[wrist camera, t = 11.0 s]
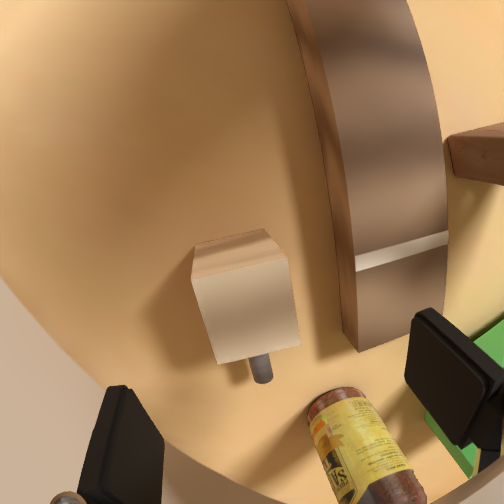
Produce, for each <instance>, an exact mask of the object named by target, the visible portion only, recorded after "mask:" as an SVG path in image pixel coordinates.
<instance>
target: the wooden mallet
mask: <svg viewBox="0 0 504 504" xmlns="http://www.w3.org/2000/svg"><path fill="white" fill-rule="evenodd" d="M448 143H449V148H450V153H451V158H452V163H453V169H454V174H455V176H456V177H459V178H465V179H471V180H477V181H482V182H487V183H493V184H498V185H502V186H504V123H500V124H495V125H491V126H487V127H482V128H478V129H474V130H470V131H466V132H462V133H458V134H454V135H450V136H449V137H448Z"/></svg>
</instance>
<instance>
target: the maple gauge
mask: <svg viewBox="0 0 504 504" xmlns="http://www.w3.org/2000/svg"><path fill="white" fill-rule="evenodd" d="M191 282H192V286H193V289H194V292H195V296H196V299H197V302H198V306H199V309H200V312H201V315H202V318H203V322H204V325H205V328H206V331H207V334H208V337H209V340H210V343H211V346H212V349H213V352H214V355H215V358H216V361H217V364H218V365H219V364H224V363H229V362H233V361H237V360H242V359H246V358H248V359H249V363H250V366H251V370H252V374H253V377H254V381H255V382H256V383H259V384H265V383H268V382H270V381H271V380H272V379H273V372H272V368H271V363H270V359H269V354H268V353H270V352H274V351H278V350H282V349H286V348H289V347H293V346H297V345H300V344H301V342H300V336H299V329H298V322H297V316H296V309H295V303H294V296H293V290H292V284H291V278H290V271H289V265H288V259H287V256H286V255H285V254H284V253H283V251H282V250H281V249H280V248H279V247H278V245H277V244H276V243H275V242H274V240H273V239H272V238H271V237H270V236H269V234H268V233H267V232H266V231H265V229H260V230H256V231H251V232H247V233H243V234H238V235H234V236H230V237H226V238H221V239H217V240H213V241H209V242H204V243H200V244H196V245H195V250H194V258H193V266H192V274H191Z"/></svg>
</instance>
